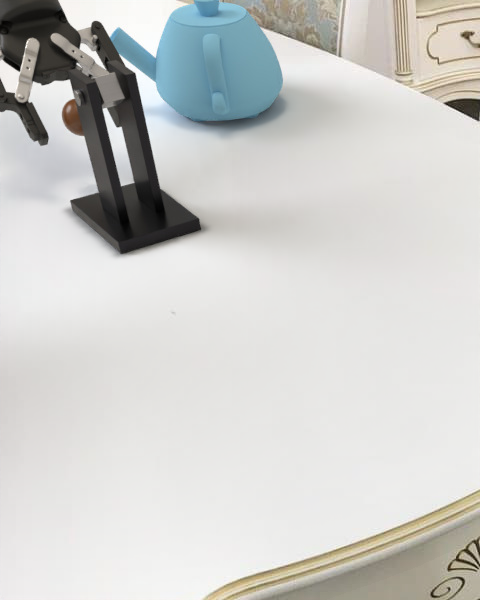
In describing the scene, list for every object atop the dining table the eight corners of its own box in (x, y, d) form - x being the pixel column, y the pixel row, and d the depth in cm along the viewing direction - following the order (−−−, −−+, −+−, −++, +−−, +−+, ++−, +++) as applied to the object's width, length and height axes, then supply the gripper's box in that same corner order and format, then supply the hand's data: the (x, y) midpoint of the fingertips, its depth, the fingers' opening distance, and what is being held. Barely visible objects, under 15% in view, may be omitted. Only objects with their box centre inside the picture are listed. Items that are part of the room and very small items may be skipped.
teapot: (291, 134, 133) (277, 19, 124) (120, 145, 130) (92, 28, 121) (281, 75, 147) (267, -33, 138) (125, 84, 144) (101, -25, 135)
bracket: (72, 211, 118) (31, 63, 108) (150, 189, 122) (118, 44, 112) (121, 253, 112) (82, 101, 101) (201, 229, 116) (172, 80, 105)
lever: (67, 142, 118) (52, 107, 117) (99, 134, 120) (84, 99, 118) (99, 111, 107) (83, 71, 105) (134, 103, 108) (119, 63, 107)
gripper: (-59, -26, 109) (20, 130, 111) (79, -49, 115) (152, 99, 118) (-59, 18, 116) (16, 165, 118) (72, -6, 122) (141, 134, 124)
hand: (84, 132), depth 118 cm, fingers open, 8 cm apart
